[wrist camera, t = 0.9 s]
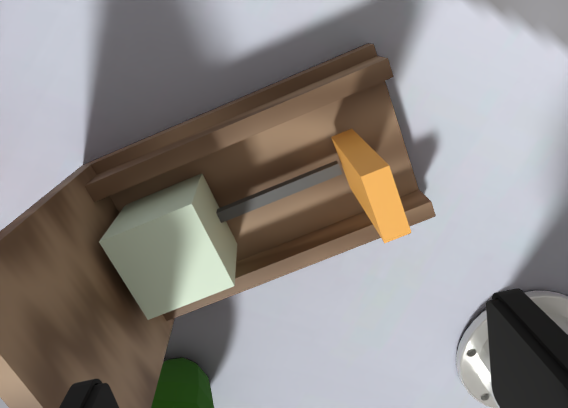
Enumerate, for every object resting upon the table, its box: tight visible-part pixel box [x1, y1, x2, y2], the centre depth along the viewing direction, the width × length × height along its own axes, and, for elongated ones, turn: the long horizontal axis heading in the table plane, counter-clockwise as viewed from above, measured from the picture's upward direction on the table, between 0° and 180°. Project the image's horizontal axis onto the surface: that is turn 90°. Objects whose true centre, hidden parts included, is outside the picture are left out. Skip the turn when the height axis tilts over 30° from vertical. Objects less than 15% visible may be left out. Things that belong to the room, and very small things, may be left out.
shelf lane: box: [0, 43, 436, 408], centre depth 26 cm, size 13×22×18 cm, turn 112°
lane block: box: [99, 129, 411, 320], centre depth 28 cm, size 6×17×10 cm, turn 112°
